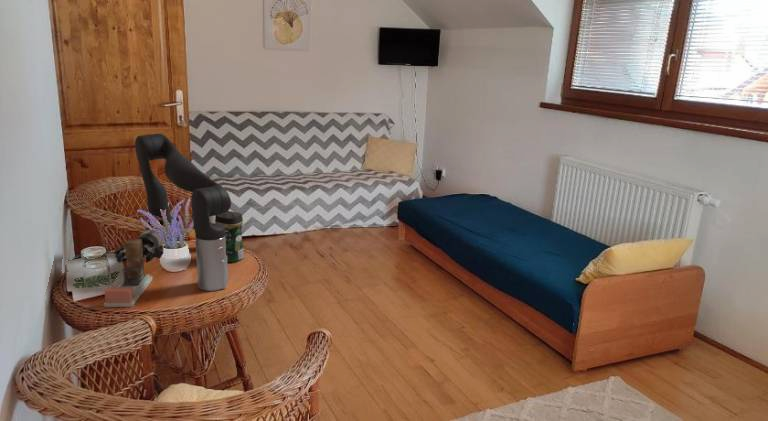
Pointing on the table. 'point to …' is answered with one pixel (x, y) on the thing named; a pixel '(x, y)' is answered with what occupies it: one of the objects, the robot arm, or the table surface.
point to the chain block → (134, 262)
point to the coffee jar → (232, 234)
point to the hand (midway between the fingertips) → (133, 259)
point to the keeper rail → (125, 293)
